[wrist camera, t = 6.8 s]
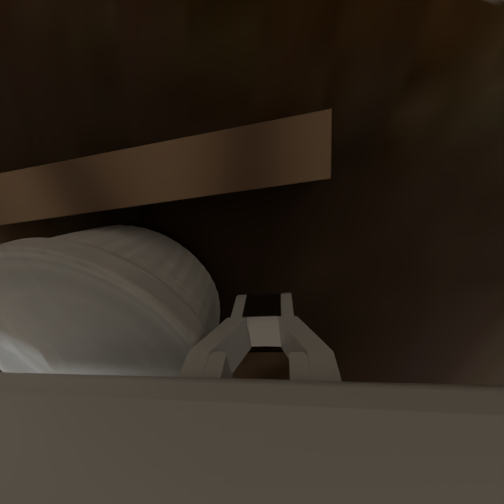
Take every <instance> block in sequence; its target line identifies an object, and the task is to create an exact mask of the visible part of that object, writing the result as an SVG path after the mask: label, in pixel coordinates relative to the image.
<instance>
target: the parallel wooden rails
mask: <svg viewBox="0 0 504 504" xmlns="http://www.w3.org/2000/svg"><path fill="white" fill-rule="evenodd" d="M331 135H332V109H327V110H322V111H317V112H312V113H307V114H302V115H297V116H291V117H286V118H281V119H276V120H271V121H266V122H261V123H256V124H250V125H245V126H240V127H235V128H230V129H225V130H220V131H214V132H209V133H204V134H199V135H194V136H189V137H184V138H179V139H173V140H168V141H163V142H158V143H153V144H148V145H143V146H138V147H132V148H127V149H122V150H117V151H112V152H107V153H102V154H96V155H91V156H86V157H81V158H76V159H71V160H66V161H61V162H55V163H50V164H45V165H40V166H35V167H30V168H25V169H20V170H14V171H9V172H4V173H0V225H5V224H12V223H19V222H26V221H33V220H40V219H47V218H54V217H61V216H68V215H75V214H83V213H90V212H97V211H104V210H111V209H118V208H125V207H132V206H139V205H146V204H153V203H160V202H167V201H174V200H181V199H189V198H196V197H203V196H210V195H217V194H224V193H231V192H238V191H245V190H252V189H259V188H266V187H273V186H280V185H287V184H295V183H302V182H309V181H316V180H323V179H330V178H331ZM232 376H233V378H238V379H276V380H290V369H289V359H288V357H287V356H286V354H285V353H284V352H248V353H247V354H246V356H245V357H244V358H243V360H242V361H241V362H240V364H239V365H238V367H237V368H236V369H235V371H234V372H233V373H232Z"/></svg>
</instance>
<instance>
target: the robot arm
mask: <svg viewBox="0 0 504 504" xmlns="http://www.w3.org/2000/svg"><path fill="white" fill-rule="evenodd" d="M255 346H277V347H281V348H282V349H283V351H284V353H285V354H286V356H287V357H288V359H289V369H290V380H276V379H238V378H233V376H232V373H233V372H234V371H235V369H236V368H237V367H238V365H239V364H240V362H241V361H242V360H243V358H244V357H245V356H246V354H247V353H248V351H249V350H250V349H251V347H255ZM0 504H504V386H500V385H463V384H425V383H388V382H351V381H342V380H341V377H340V373H339V370H338V366H337V363H336V359H335V355H334V352H333V350H331V349H330V348H329V347H328V346H327V345H326V344H325V343H324V342H323V341H322V340H321V339H320V338H319V337H318V336H317V335H316V334H315V333H314V332H313V331H312V330H311V329H310V328H309V327H308V326H307V325H306V324H305V323H304V322H303V321H302V320H301V319H300V318H298V317H297V316H294V312H293V303H292V293H291V292H290V293H281V294H247V295H237V296H236V300H235V303H234V307H233V310H232V314H231V317H230V318H227V319H225V320H224V321H223V322H222V323H221V324H220V325H218V326H217V327H216V328H215V329H214V330H213V331H212V332H210V333H209V334H208V335H207V336H206V337H205V338H203V339H202V340H201V341H200V342H199V343H198V344H196V345H195V346H194V347H193V348H192V349H191V350H189V353H188V355H187V357H186V359H185V362H184V364H183V366H182V368H181V371H180V373H179V375H178V377H163V376H125V375H87V374H48V373H10V372H0Z"/></svg>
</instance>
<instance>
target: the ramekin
mask: <svg viewBox="0 0 504 504" xmlns="http://www.w3.org/2000/svg"><path fill="white" fill-rule="evenodd" d="M219 319H220V300H219V296H218V291H217V290H216V286H215V283H214V282H213V280H212V278H211V276H210V274H209V273H208V272H207V270H206V269H205V267H204V266H203V265H202V264H201V263H200V262H199V260H198V259H197V258H196V257H195V256H194V255H193V254H191V253H190V252H189V250H187V249H186V248H184V247H183V246H181V245H180V244H179V243H177V242H176V241H174V240H172V239H171V238H169V237H167V236H165V235H163V234H161V233H159V232H155V231H152V230H149V229H147V228H142V227H136V226H132V225H129V226H126V225H114V226H103V227H98V228H93V229H88V230H83V231H78V232H73V233H68V234H64V235H60V236H55V237H51V238H41V237H39V238H24V239H18V240H14V241H10V242H6V243H3V244H0V370H2V371H3V372H10V373H48V374H87V375H125V376H163V377H178V375H179V373H180V371H181V368H182V366H183V364H184V362H185V359H186V357H187V355H188V353H189V350H191V349H192V348H193V347H194V346H195V345H196V344H198V343H199V342H200V341H201V340H202V339H203V338H205V337H206V336H207V335H208V334H209V333H210V332H212V331H213V330H214V329H215V328H216V327H217V326H218V325H219Z"/></svg>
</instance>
